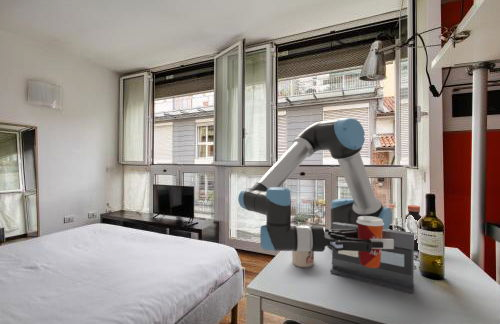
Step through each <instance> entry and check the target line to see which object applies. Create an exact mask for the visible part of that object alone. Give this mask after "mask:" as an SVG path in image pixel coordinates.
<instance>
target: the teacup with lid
mask: <svg viewBox="0 0 500 324" xmlns="http://www.w3.org/2000/svg"><path fill="white" fill-rule="evenodd" d="M291 257H292V261H291V262H292V264H293V265H294V266H296V267H300V268H310V267H312V266H314V264H315V260H314V259H315V253H314V251H312V250H311V249H310V251H302V253H301V252H299V251H291Z"/></svg>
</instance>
